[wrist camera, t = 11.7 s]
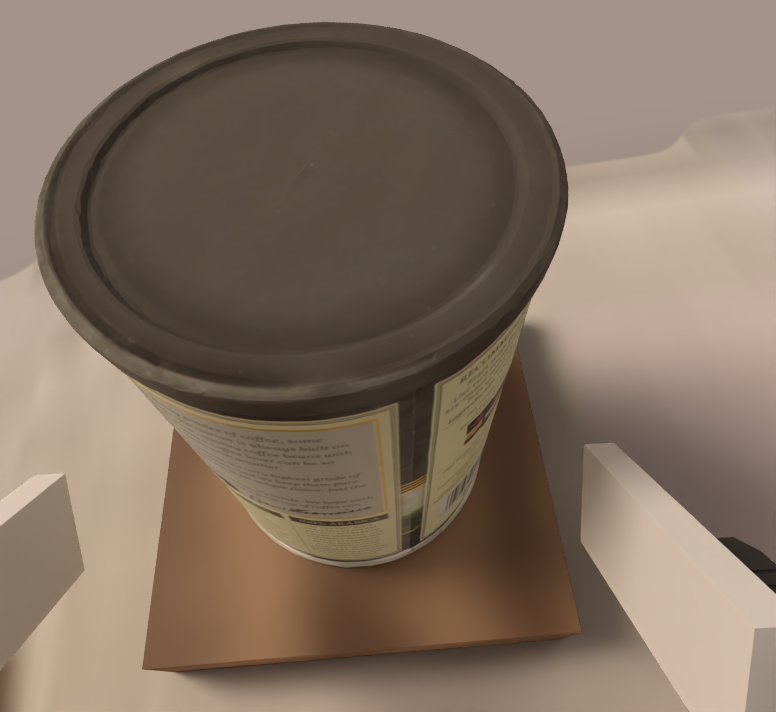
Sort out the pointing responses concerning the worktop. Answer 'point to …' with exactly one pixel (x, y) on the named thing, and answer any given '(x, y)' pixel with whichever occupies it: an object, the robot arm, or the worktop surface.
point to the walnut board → (362, 570)
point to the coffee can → (313, 267)
